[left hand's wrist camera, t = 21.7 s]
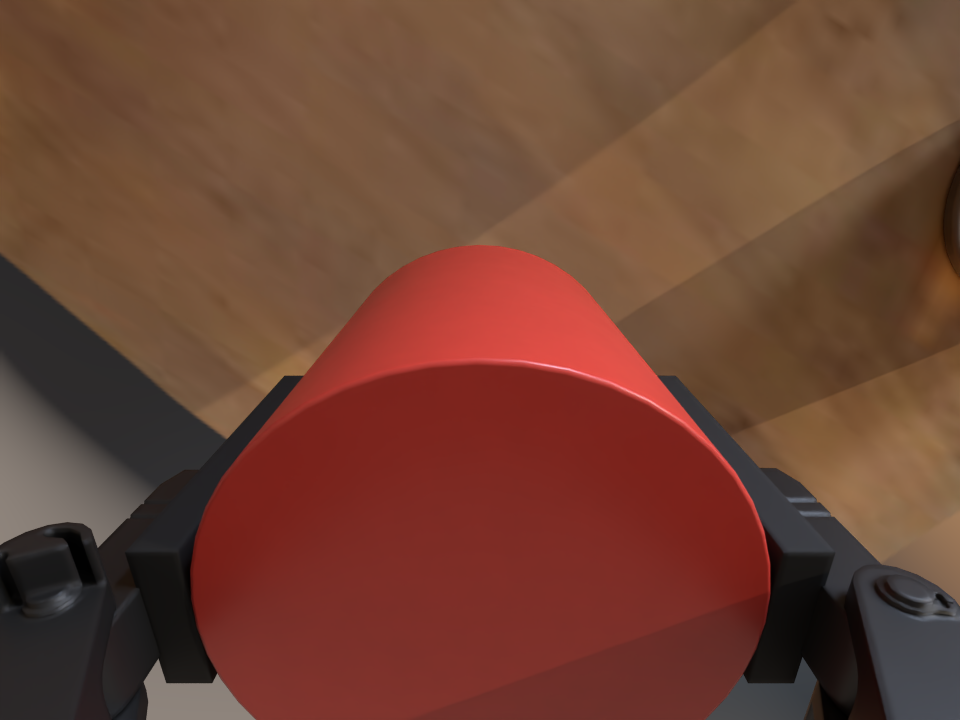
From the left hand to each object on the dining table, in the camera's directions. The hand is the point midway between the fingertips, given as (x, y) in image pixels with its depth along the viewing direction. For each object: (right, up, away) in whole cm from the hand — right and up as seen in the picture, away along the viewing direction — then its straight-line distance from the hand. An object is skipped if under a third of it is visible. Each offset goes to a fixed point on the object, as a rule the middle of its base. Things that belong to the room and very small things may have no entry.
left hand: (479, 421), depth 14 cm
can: (0, +1, +2) cm, 3 cm away
